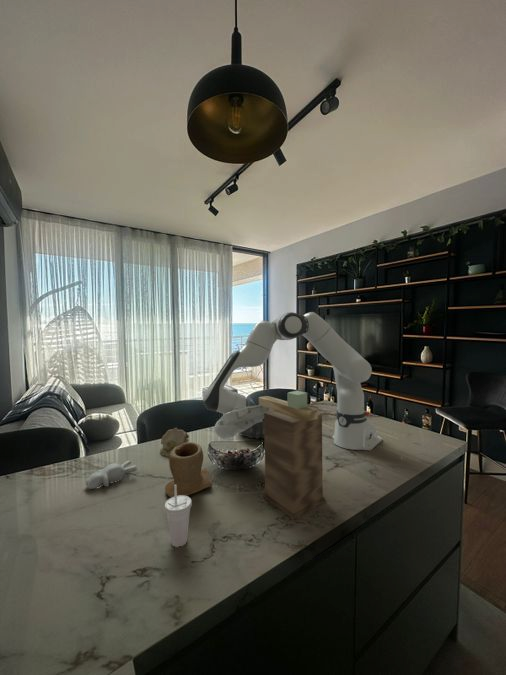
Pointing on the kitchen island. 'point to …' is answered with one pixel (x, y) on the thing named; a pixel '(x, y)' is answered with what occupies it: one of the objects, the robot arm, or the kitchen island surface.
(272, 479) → the walnut block
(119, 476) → the bunny figurine
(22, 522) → the kitchen island surface
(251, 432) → the bundt pan
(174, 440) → the ceramic model
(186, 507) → the smoothie
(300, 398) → the sage cube
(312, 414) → the oak slat
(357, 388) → the robot arm
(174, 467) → the stone cup
